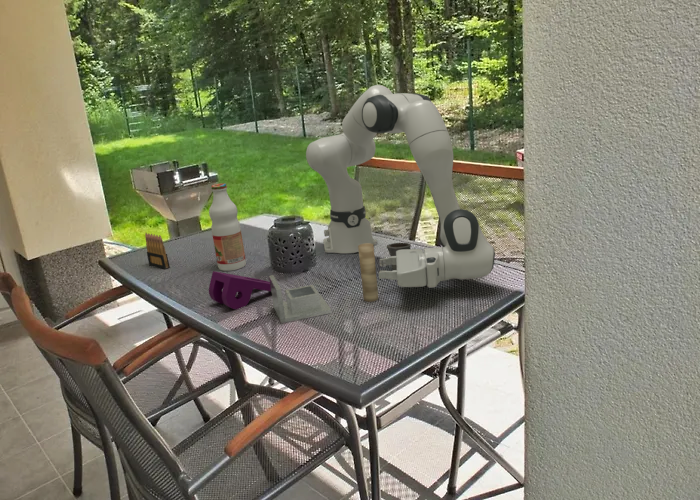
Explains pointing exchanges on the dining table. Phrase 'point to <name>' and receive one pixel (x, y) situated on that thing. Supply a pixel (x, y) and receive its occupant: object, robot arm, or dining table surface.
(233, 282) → the mounting bracket
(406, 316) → the dining table surface
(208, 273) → the dining table surface
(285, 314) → the cup bracket
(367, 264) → the tan wooden cylinder
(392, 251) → the pipe
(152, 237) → the ammunition clip
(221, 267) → the fruit juice
